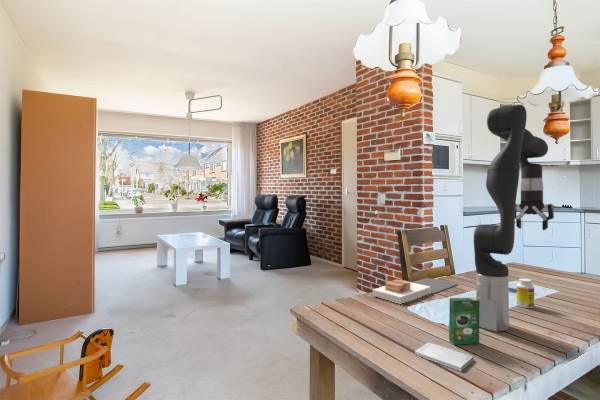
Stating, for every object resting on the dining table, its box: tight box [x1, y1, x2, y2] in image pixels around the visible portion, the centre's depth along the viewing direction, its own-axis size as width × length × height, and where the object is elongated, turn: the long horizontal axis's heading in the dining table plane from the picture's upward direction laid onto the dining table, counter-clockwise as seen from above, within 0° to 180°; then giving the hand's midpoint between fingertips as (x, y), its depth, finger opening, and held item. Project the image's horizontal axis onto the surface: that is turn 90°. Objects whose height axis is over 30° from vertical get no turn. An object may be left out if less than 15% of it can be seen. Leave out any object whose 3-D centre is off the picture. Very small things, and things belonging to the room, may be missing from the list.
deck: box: [372, 280, 432, 305], centre depth 144 cm, size 22×14×3 cm, turn 128°
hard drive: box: [414, 342, 475, 372], centre depth 89 cm, size 2×8×12 cm
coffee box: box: [448, 297, 480, 346], centre depth 98 cm, size 8×3×13 cm, turn 93°
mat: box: [412, 277, 459, 295], centre depth 157 cm, size 22×16×1 cm
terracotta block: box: [384, 279, 411, 293], centre depth 142 cm, size 8×7×3 cm
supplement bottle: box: [516, 278, 535, 309], centre depth 127 cm, size 6×6×10 cm
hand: (531, 229), depth 136 cm, fingers open, 8 cm apart
